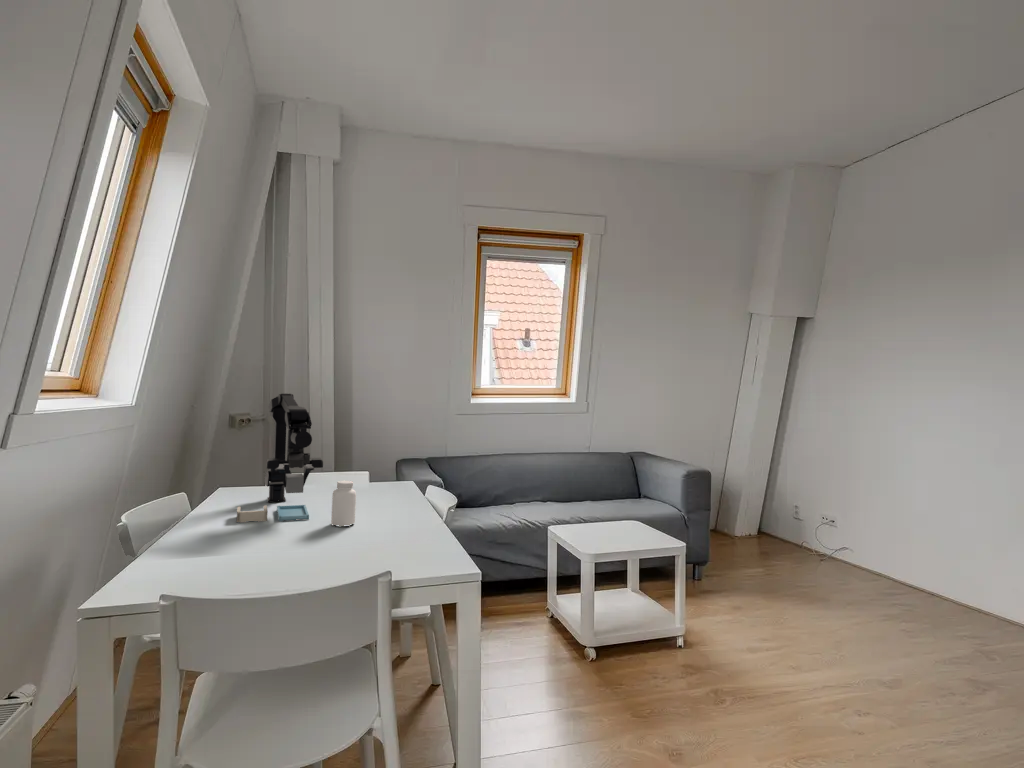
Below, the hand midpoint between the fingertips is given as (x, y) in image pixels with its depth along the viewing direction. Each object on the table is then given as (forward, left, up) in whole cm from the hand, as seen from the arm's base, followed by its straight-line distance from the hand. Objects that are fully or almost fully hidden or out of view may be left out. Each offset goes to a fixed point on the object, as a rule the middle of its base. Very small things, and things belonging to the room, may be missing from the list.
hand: (294, 487), depth 213 cm
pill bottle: (+14, +16, -11) cm, 24 cm away
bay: (0, -13, -11) cm, 17 cm away
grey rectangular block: (-2, 0, -1) cm, 2 cm away
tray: (-2, 0, -11) cm, 11 cm away
